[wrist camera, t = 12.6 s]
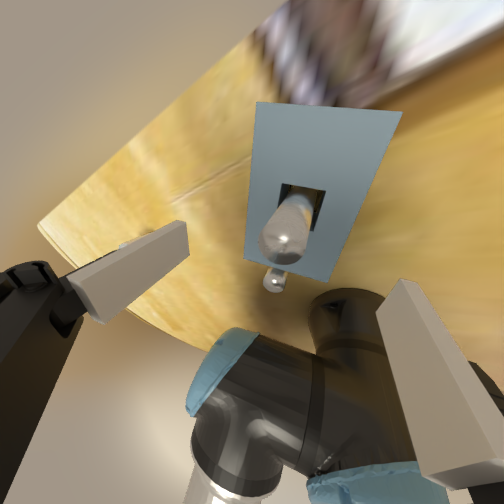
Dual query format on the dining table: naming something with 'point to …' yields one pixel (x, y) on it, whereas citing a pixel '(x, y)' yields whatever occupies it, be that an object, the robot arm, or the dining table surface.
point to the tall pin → (288, 227)
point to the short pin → (275, 279)
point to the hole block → (314, 173)
